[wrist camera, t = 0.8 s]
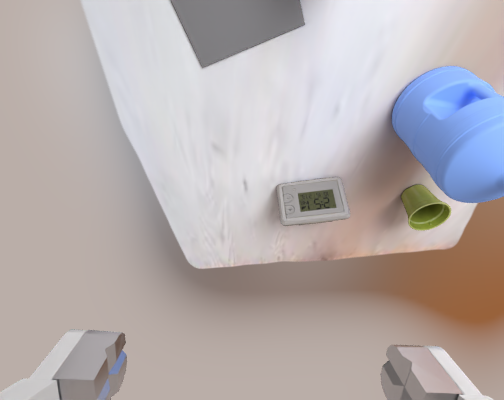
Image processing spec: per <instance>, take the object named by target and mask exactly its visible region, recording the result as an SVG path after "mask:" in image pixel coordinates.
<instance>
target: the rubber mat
mask: <svg viewBox="0 0 504 400" xmlns="http://www.w3.org/2000/svg"><path fill="white" fill-rule="evenodd" d="M171 2H172V4H173V6H174V8H175V10H176V12H177V14H178V17H179V19H180V21H181V23H182V25H183V27H184V29H185V31H186V34H187V36H188V38H189V40H190V42H191V44H192V46H193V48H194V50H195V53H196V55H197V57H198V59H199V61H200V63H201V65H202V67H205V66H208V65H210V64H212V63H215V62H217V61H219V60H222V59H224V58H227V57H229V56H231V55H234V54H236V53H238V52H241V51H243V50H245V49H248V48H250V47H253V46H255V45H257V44H260V43H262V42H264V41H267V40H269V39H272V38H274V37H276V36H279V35H281V34H283V33H286V32H288V31H290V30H293V29H295V28H298V27H300V26H302V25H305V23H304V18H303V14H302V9H301V4H300V0H171Z"/></svg>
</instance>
